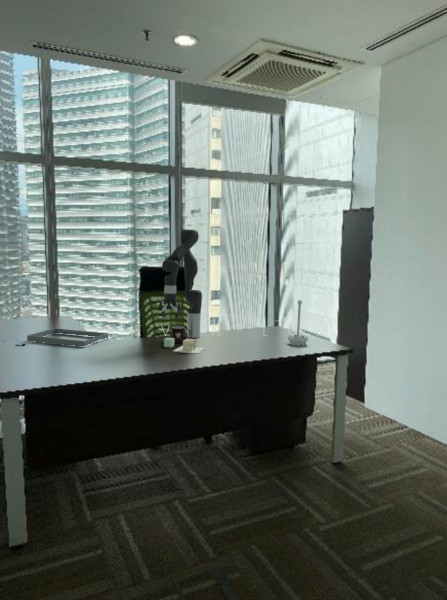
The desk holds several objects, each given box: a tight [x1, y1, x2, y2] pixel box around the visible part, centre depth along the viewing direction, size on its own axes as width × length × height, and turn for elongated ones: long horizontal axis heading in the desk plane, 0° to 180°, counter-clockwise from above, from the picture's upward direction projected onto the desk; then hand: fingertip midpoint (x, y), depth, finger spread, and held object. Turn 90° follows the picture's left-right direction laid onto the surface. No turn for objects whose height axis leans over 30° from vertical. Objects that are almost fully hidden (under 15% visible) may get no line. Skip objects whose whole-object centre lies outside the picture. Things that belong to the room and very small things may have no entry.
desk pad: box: [172, 345, 207, 355], centre depth 274 cm, size 14×16×1 cm
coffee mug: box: [171, 325, 190, 344], centre depth 295 cm, size 12×9×10 cm
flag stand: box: [287, 299, 309, 346], centre depth 299 cm, size 13×13×30 cm
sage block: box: [163, 337, 175, 348], centre depth 284 cm, size 5×5×5 cm
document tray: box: [26, 327, 109, 346], centre depth 291 cm, size 27×42×4 cm, turn 73°
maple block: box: [182, 338, 197, 351], centre depth 273 cm, size 6×6×6 cm
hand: (170, 317), depth 281 cm, fingers open, 8 cm apart
